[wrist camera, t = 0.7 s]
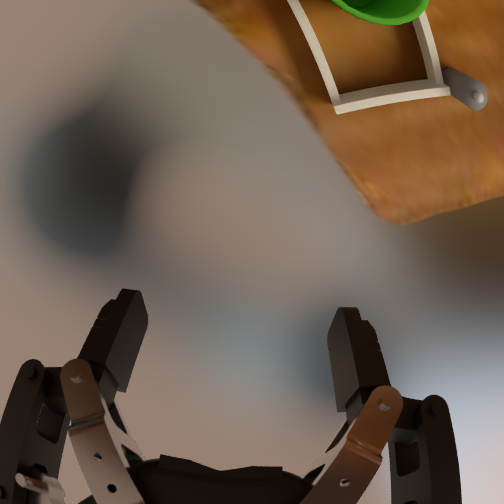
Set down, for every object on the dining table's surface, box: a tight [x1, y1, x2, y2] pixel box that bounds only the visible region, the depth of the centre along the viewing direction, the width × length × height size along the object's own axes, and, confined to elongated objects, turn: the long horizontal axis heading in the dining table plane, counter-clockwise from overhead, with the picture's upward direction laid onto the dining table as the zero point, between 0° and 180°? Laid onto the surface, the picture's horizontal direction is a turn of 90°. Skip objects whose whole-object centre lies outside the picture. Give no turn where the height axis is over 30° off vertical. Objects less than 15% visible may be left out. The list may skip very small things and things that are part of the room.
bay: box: [287, 0, 488, 115], centre depth 16 cm, size 20×18×7 cm
